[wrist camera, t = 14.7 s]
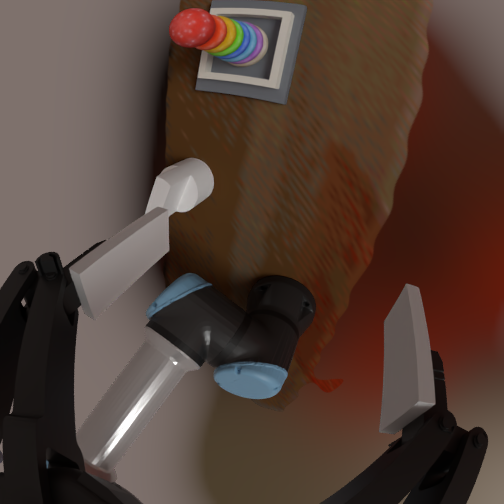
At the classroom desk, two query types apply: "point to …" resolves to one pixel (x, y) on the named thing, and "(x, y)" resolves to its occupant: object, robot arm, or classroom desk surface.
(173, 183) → the cylinder with rectangular tab
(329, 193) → the classroom desk surface
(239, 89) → the board
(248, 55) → the stacking toy
